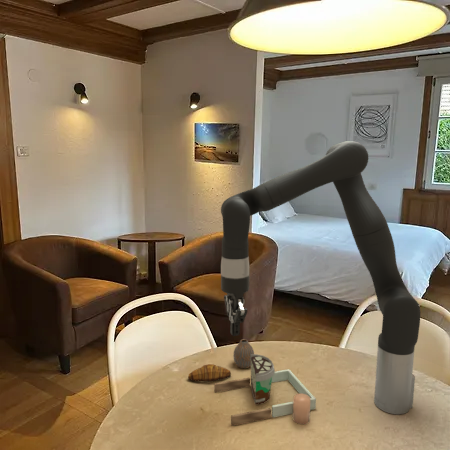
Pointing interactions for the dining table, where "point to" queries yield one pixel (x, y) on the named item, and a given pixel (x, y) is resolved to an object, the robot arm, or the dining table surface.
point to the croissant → (209, 373)
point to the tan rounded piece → (301, 408)
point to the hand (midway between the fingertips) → (235, 334)
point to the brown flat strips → (245, 416)
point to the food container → (261, 378)
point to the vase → (243, 354)
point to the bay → (288, 375)
